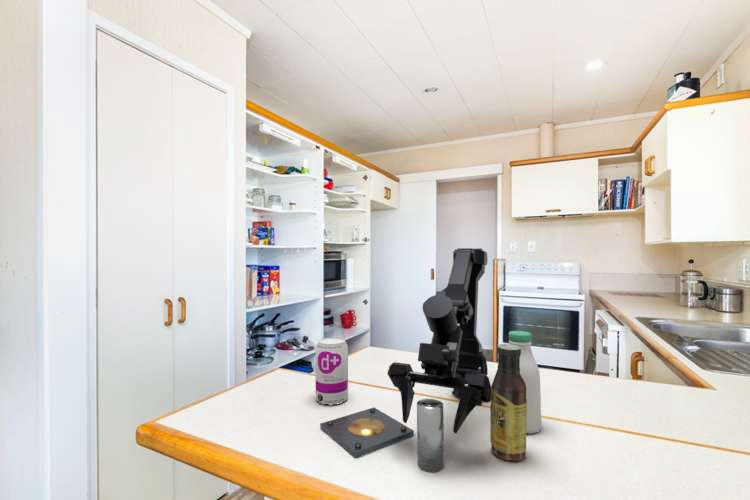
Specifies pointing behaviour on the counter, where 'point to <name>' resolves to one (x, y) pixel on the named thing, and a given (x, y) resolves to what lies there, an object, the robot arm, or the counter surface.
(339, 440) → the flange plate
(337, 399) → the supplement can
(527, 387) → the milk bottle
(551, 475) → the counter surface
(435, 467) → the sleeve
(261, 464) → the counter surface
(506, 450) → the sauce bottle
